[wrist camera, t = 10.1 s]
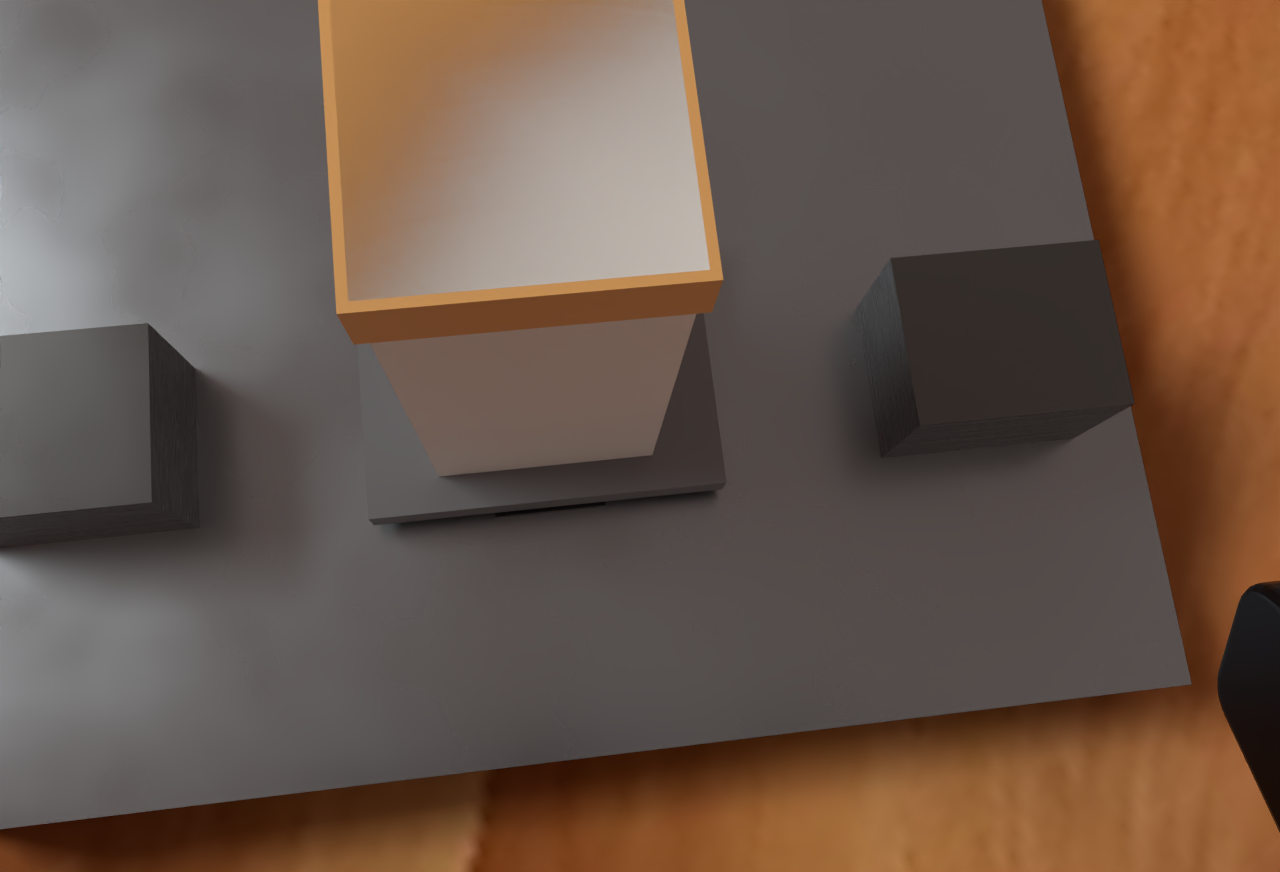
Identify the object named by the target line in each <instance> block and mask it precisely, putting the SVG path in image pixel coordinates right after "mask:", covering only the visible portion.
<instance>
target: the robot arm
mask: <svg viewBox="0 0 1280 872" xmlns="http://www.w3.org/2000/svg"><path fill="white" fill-rule="evenodd" d="M1218 695H1219V700H1220V703H1221V707H1222V710H1223V712H1224V715H1225V717H1226V719H1227V721H1228V723H1229V726H1230V728H1231V730H1232V732H1233V734H1234V736H1235V738H1236V741H1237V743H1238V745H1239V747H1240V749H1241V751H1242V753H1243V755H1244V758H1245V760H1246V762H1247V764H1248V766H1249V768H1250V770H1251V772H1252V775H1253V777H1254V779H1255V781H1256V783H1257V785H1258V787H1259V789H1260V792H1261V794H1262V796H1263V798H1264V800H1265V802H1266V804H1267V806H1268V809H1269V811H1270V813H1271V815H1272V817H1273V819H1274V821H1275V823H1276V826H1277V828H1278V830H1279V832H1280V581H1273V582H1264V583H1258V584H1255V585H1253V586H1251V587H1249V588H1248V589H1247V590H1246V592H1245V593H1244V594H1243V595H1242V596H1241V599H1240V601H1239V604H1238V607H1237V611H1236V614H1235V618H1234V621H1233V624H1232V628H1231V631H1230V635H1229V638H1228V641H1227V645H1226V648H1225V652H1224V655H1223V658H1222V662H1221V665H1220V669H1219V673H1218Z"/></svg>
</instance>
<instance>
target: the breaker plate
mask: <svg viewBox="0 0 1280 872" xmlns="http://www.w3.org/2000/svg"><path fill="white" fill-rule="evenodd" d="M684 3H685V10H686V17H687V24H688V32H689V39H690V46H691V53H692V60H693V67H694V74H695V81H696V89H697V96H698V103H699V110H700V117H701V124H702V131H703V138H704V146H705V153H706V160H707V167H708V174H709V181H710V188H711V195H712V202H713V210H714V217H715V224H716V231H717V238H718V245H719V252H720V259H721V267H722V274H723V282H722V285H721V288H720V291H719V294H718V297H717V300H716V302H715V305H714V308H713V311H712V312H710V313H704V319H705V326H706V334H707V341H708V348H709V356H710V363H711V371H712V378H713V385H714V393H715V400H716V407H717V415H718V422H719V430H720V437H721V444H722V452H723V459H724V467H725V474H726V481H727V483H726V484H725V486H724V487H723V489H721V490H712V491H702V492H692V493H682V494H673V495H663V496H653V497H644V498H634V499H624V500H615V501H605V502H595V503H586V504H576V505H566V506H557V507H547V508H537V509H528V510H518V511H508V512H499V513H489V514H479V515H470V516H460V517H450V518H441V519H431V520H421V521H412V522H402V523H392V524H382V525H373V524H372V522H371V521H370V520H369V519H368V504H367V488H366V472H365V457H364V441H363V425H362V409H361V393H360V378H359V362H358V346H357V344H356V345H354V344H353V343H352V341H351V339H350V337H349V335H348V334H347V332H346V330H345V328H344V327H343V325H342V323H341V321H340V319H339V318H338V316H337V314H336V298H335V281H334V264H333V248H332V231H331V214H330V197H329V180H328V163H327V147H326V130H325V113H324V96H323V79H322V62H321V46H320V29H319V12H318V0H0V829H7V828H15V827H23V826H31V825H40V824H48V823H56V822H64V821H72V820H81V819H89V818H97V817H105V816H114V815H122V814H130V813H138V812H146V811H155V810H163V809H171V808H179V807H188V806H196V805H204V804H212V803H220V802H229V801H237V800H245V799H253V798H262V797H270V796H278V795H286V794H294V793H303V792H311V791H319V790H327V789H335V788H344V787H352V786H360V785H368V784H377V783H385V782H393V781H401V780H409V779H418V778H426V777H434V776H442V775H451V774H459V773H467V772H475V771H483V770H492V769H500V768H508V767H516V766H525V765H533V764H541V763H549V762H557V761H566V760H574V759H582V758H590V757H599V756H607V755H615V754H623V753H631V752H640V751H648V750H656V749H664V748H673V747H681V746H689V745H697V744H705V743H714V742H722V741H730V740H738V739H747V738H755V737H763V736H771V735H779V734H788V733H796V732H804V731H812V730H820V729H829V728H837V727H845V726H853V725H862V724H870V723H878V722H886V721H894V720H903V719H911V718H919V717H927V716H936V715H944V714H952V713H960V712H968V711H977V710H985V709H993V708H1001V707H1010V706H1018V705H1026V704H1034V703H1042V702H1051V701H1059V700H1067V699H1075V698H1084V697H1092V696H1100V695H1108V694H1116V693H1125V692H1133V691H1141V690H1149V689H1158V688H1166V687H1174V686H1182V685H1190V684H1192V683H1191V679H1190V674H1189V670H1188V665H1187V661H1186V656H1185V652H1184V647H1183V642H1182V638H1181V633H1180V629H1179V624H1178V620H1177V615H1176V611H1175V606H1174V601H1173V597H1172V592H1171V588H1170V583H1169V579H1168V574H1167V570H1166V565H1165V560H1164V556H1163V551H1162V547H1161V542H1160V538H1159V533H1158V529H1157V524H1156V519H1155V515H1154V510H1153V506H1152V501H1151V497H1150V492H1149V488H1148V483H1147V478H1146V474H1145V469H1144V465H1143V460H1142V456H1141V451H1140V447H1139V442H1138V437H1137V433H1136V428H1135V424H1134V419H1133V415H1132V410H1131V406H1132V405H1133V404H1135V403H1134V399H1133V394H1132V389H1131V385H1130V380H1129V376H1128V371H1127V367H1126V362H1125V358H1124V353H1123V349H1122V344H1121V340H1120V335H1119V330H1118V326H1117V321H1116V317H1115V312H1114V308H1113V303H1112V299H1111V294H1110V290H1109V285H1108V281H1107V276H1106V271H1105V267H1104V262H1103V258H1102V253H1101V249H1100V244H1099V240H1094V237H1093V232H1092V228H1091V223H1090V219H1089V214H1088V210H1087V205H1086V201H1085V196H1084V191H1083V187H1082V182H1081V178H1080V173H1079V169H1078V164H1077V160H1076V155H1075V150H1074V146H1073V141H1072V137H1071V132H1070V128H1069V123H1068V119H1067V114H1066V109H1065V105H1064V100H1063V96H1062V91H1061V87H1060V82H1059V78H1058V73H1057V68H1056V64H1055V59H1054V55H1053V50H1052V46H1051V41H1050V37H1049V32H1048V27H1047V23H1046V18H1045V14H1044V9H1043V5H1042V0H684Z"/></svg>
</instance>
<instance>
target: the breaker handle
mask: <svg viewBox="0 0 1280 872" xmlns="http://www.w3.org/2000/svg"><path fill="white" fill-rule="evenodd" d="M318 12H319V29H320V46H321V62H322V79H323V96H324V113H325V130H326V147H327V163H328V180H329V197H330V214H331V231H332V248H333V264H334V281H335V298H336V314H337V316H338V318H339V319H340V321H341V323H342V325H343V327H344V328H345V330H346V332H347V334H348V335H349V337H350V339H351V341H352V343H353V344H354V345H356V344H357V346H358V362H359V378H360V393H361V409H362V425H363V441H364V457H365V472H366V488H367V504H368V519H369V520H370V521H371V522H372V524H373V525H382V524H392V523H402V522H412V521H421V520H431V519H441V518H450V517H460V516H470V515H479V514H489V513H499V512H508V511H518V510H528V509H537V508H547V507H557V506H566V505H576V504H586V503H595V502H605V501H615V500H624V499H634V498H644V497H653V496H663V495H673V494H682V493H692V492H702V491H712V490H721V489H723V487H724V486H725V484H726V483H727V481H726V474H725V467H724V459H723V452H722V444H721V437H720V430H719V422H718V415H717V407H716V400H715V393H714V385H713V378H712V371H711V363H710V356H709V348H708V341H707V334H706V326H705V319H704V313H710V312H712V311H713V308H714V305H715V302H716V300H717V297H718V294H719V291H720V288H721V285H722V282H723V274H722V267H721V259H720V252H719V245H718V238H717V231H716V224H715V217H714V210H713V202H712V195H711V188H710V181H709V174H708V167H707V160H706V153H705V146H704V138H703V131H702V124H701V117H700V110H699V103H698V96H697V89H696V81H695V74H694V67H693V60H692V53H691V46H690V39H689V32H688V24H687V17H686V10H685V3H684V0H318Z"/></svg>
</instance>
